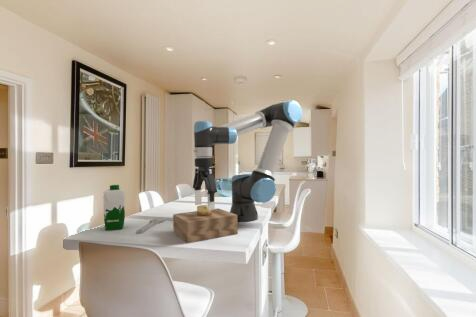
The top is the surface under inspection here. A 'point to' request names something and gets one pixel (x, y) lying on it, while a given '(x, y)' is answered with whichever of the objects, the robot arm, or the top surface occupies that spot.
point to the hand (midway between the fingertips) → (204, 207)
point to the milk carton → (114, 208)
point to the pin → (203, 210)
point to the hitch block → (204, 225)
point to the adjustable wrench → (150, 225)
